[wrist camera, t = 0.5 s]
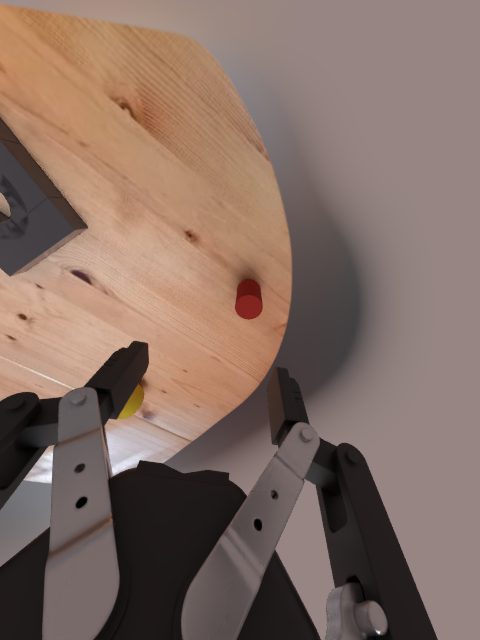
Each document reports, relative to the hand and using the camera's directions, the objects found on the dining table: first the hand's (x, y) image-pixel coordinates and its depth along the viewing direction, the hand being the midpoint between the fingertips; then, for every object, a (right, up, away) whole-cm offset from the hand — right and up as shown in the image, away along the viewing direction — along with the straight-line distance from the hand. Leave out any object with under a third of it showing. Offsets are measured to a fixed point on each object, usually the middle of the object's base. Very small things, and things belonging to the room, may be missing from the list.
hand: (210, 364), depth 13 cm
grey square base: (-28, +18, +14) cm, 37 cm away
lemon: (-20, -11, +31) cm, 39 cm away
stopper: (+3, +8, +19) cm, 21 cm away
